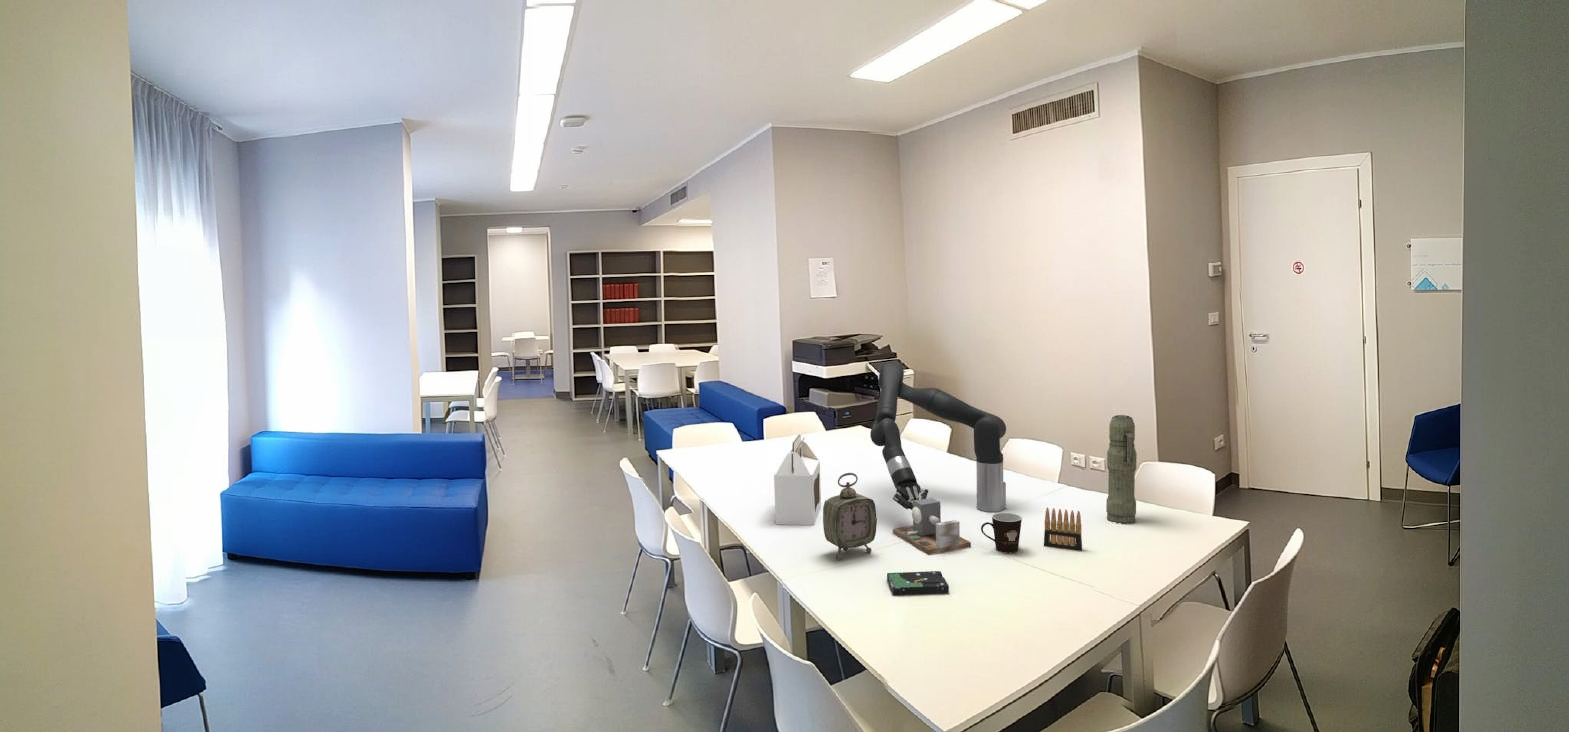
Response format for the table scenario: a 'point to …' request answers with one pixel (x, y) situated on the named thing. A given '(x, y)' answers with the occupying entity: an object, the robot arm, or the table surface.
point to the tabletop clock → (849, 519)
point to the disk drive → (917, 583)
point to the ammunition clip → (1063, 531)
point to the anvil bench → (935, 538)
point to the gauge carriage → (925, 516)
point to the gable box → (798, 487)
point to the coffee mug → (1005, 531)
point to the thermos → (1121, 470)
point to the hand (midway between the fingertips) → (920, 518)
